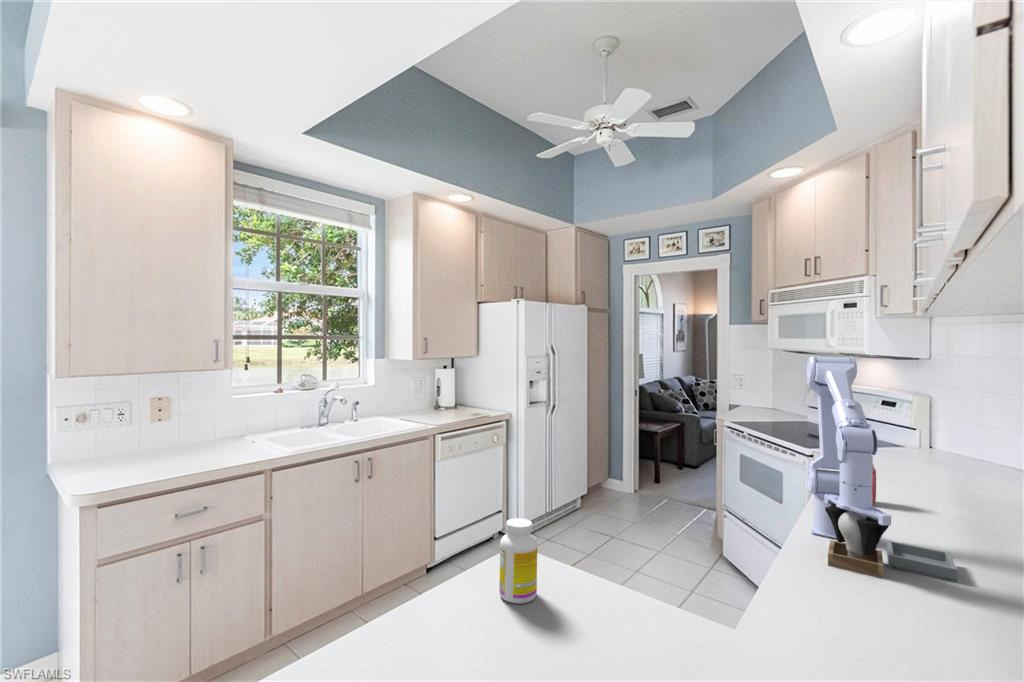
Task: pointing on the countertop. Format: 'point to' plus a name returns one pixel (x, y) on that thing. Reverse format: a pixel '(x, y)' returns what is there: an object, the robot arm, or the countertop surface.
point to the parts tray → (921, 561)
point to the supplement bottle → (518, 562)
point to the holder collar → (855, 560)
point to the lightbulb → (851, 533)
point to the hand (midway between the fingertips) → (855, 547)
